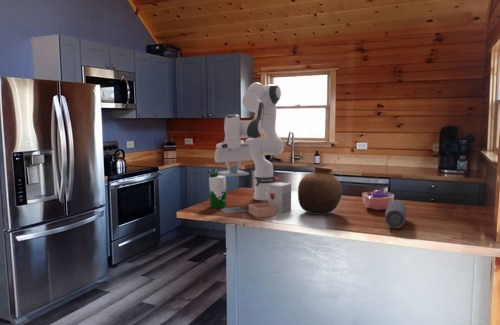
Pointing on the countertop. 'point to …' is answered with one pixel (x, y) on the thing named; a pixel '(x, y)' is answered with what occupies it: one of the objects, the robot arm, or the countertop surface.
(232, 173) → the lid
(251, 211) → the dish
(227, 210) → the mat
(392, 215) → the bluetooth speaker
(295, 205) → the countertop surface
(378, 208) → the cell model
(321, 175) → the pottery
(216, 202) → the milk carton
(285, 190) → the supplement box
